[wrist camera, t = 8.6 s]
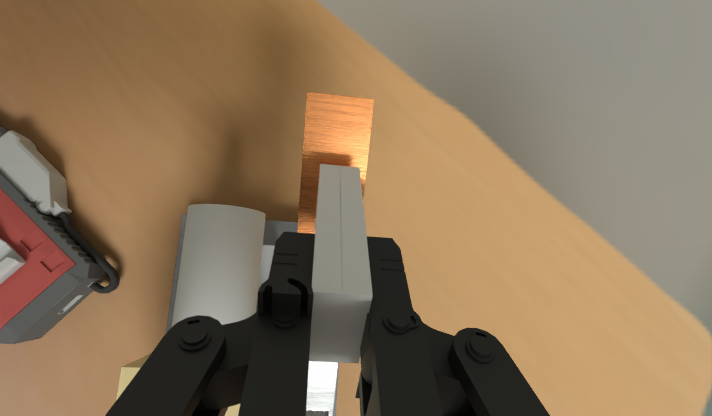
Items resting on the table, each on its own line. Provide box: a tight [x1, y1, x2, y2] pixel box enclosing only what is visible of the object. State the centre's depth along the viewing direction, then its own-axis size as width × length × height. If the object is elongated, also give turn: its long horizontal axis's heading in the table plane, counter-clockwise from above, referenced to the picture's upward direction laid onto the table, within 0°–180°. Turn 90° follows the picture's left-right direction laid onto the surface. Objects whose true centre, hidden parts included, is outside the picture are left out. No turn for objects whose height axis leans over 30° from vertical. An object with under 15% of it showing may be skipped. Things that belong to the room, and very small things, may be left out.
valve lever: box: [297, 92, 374, 416], centre depth 19 cm, size 3×3×17 cm
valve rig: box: [116, 204, 339, 416], centre depth 22 cm, size 22×11×10 cm, turn 177°
